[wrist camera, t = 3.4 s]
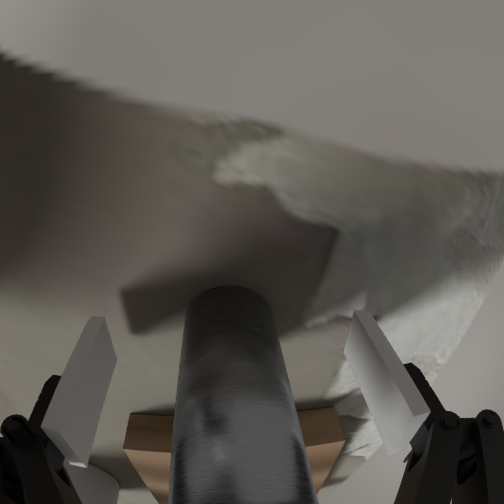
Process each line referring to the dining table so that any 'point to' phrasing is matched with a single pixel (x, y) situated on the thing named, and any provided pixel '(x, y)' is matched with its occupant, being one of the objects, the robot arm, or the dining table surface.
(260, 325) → the grey metal cylinder
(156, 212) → the dining table surface
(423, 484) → the robot arm
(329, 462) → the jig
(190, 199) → the dining table surface
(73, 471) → the mug
